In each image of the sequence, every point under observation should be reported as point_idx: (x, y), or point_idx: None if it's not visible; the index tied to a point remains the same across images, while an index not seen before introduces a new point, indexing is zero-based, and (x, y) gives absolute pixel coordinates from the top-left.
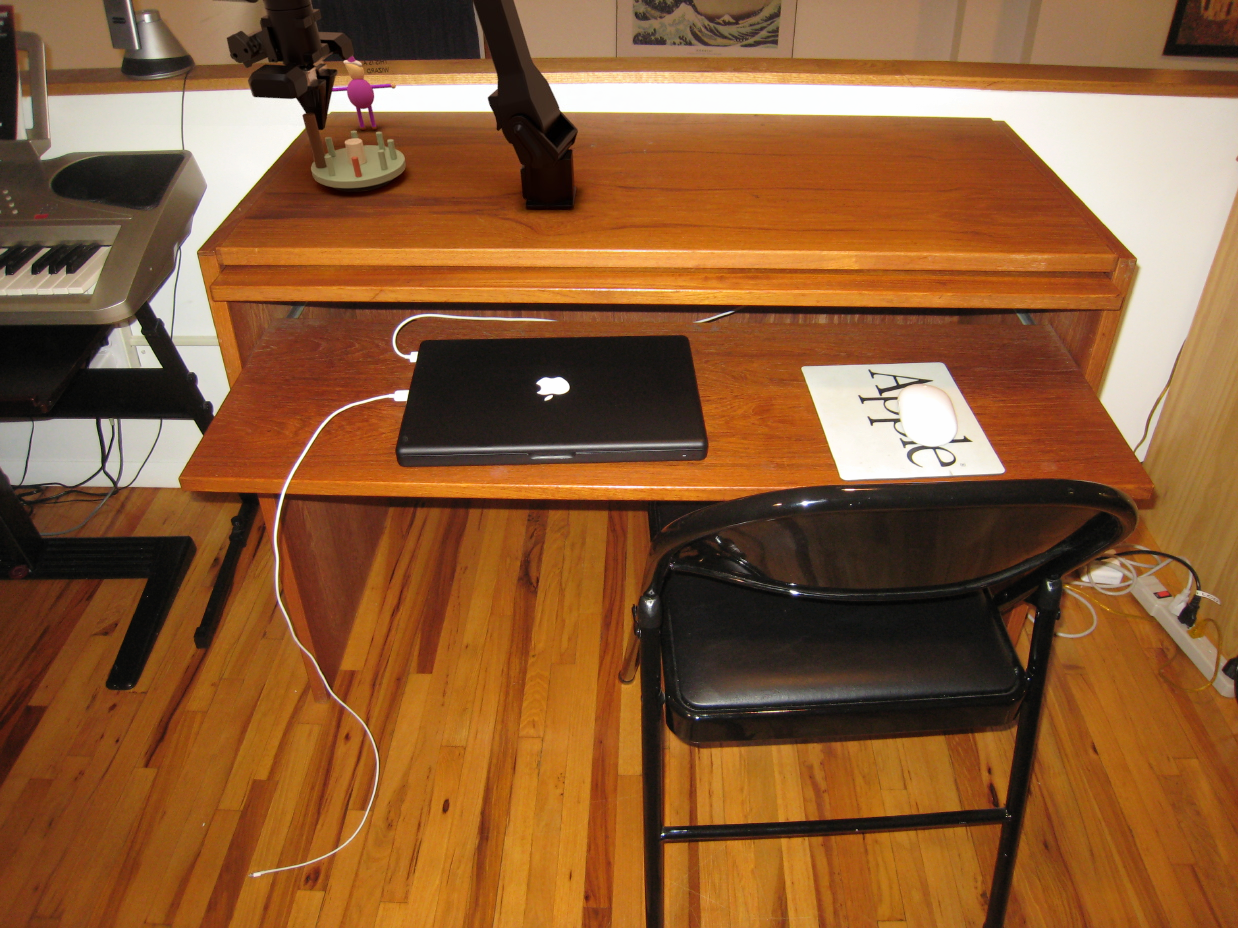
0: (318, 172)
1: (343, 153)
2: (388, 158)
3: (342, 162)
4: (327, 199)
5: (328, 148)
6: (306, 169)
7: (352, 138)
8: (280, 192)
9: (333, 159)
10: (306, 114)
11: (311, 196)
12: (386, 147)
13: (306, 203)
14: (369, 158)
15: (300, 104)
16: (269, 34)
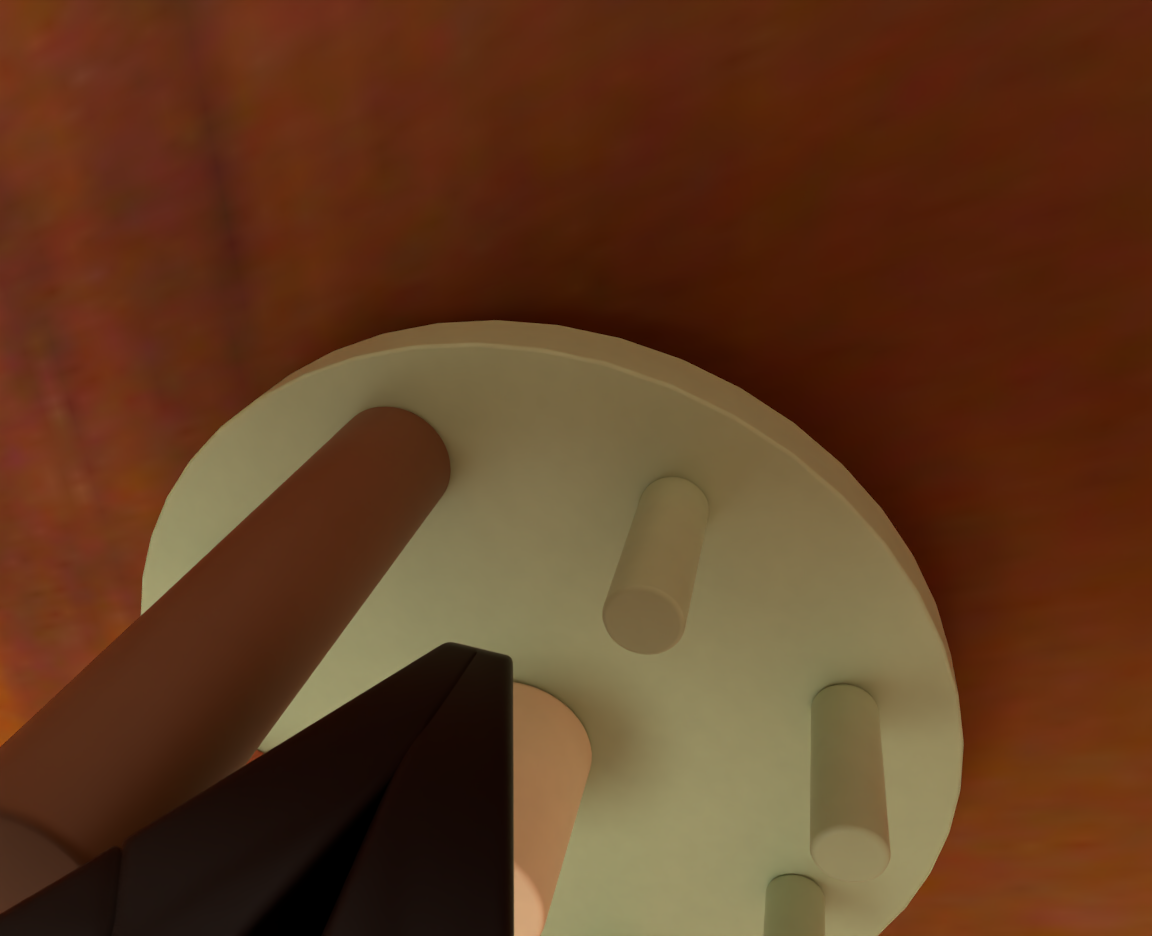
0: (256, 461)
1: (745, 597)
2: (617, 929)
3: (510, 621)
4: (183, 468)
5: (627, 541)
6: (800, 82)
7: (532, 893)
8: (212, 7)
9: (575, 533)
10: (8, 864)
11: (201, 334)
12: (876, 919)
13: (83, 330)
14: (608, 814)
15: (16, 910)
16: None
